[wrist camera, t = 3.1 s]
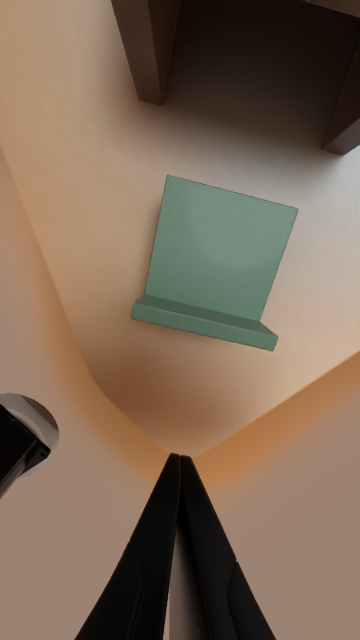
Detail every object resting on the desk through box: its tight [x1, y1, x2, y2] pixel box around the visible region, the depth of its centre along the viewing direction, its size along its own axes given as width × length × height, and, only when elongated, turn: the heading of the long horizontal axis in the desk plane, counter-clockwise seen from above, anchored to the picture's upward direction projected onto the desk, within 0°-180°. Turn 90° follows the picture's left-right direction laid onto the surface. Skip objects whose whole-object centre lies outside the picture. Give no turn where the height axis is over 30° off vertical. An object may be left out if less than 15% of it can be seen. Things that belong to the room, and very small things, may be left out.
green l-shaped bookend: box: [131, 175, 298, 351], centre depth 12 cm, size 7×7×6 cm
